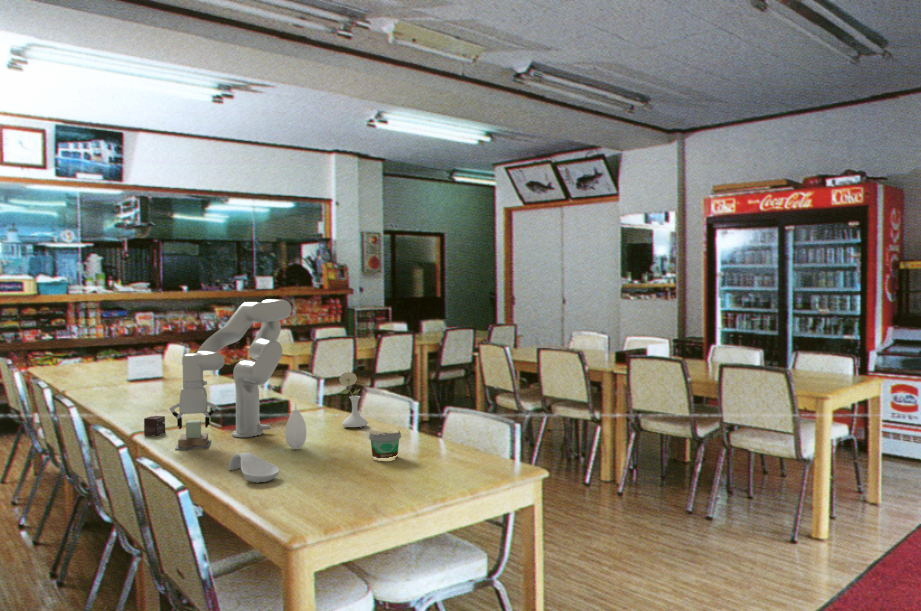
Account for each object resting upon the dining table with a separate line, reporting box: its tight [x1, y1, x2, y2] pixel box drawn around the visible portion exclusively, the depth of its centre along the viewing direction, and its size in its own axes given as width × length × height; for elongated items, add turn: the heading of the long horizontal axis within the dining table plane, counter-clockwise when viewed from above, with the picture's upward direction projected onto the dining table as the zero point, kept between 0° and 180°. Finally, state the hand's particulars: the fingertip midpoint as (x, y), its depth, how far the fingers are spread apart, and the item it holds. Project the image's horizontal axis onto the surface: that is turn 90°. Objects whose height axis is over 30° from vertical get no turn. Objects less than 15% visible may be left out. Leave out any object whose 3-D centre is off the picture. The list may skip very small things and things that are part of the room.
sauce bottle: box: [284, 403, 307, 450], centre depth 254 cm, size 8×8×18 cm
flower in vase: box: [338, 371, 368, 428], centre depth 293 cm, size 13×11×25 cm
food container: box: [368, 430, 402, 458], centre depth 240 cm, size 12×6×10 cm, turn 118°
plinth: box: [174, 432, 212, 451], centre depth 259 cm, size 12×12×4 cm
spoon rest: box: [227, 452, 280, 484], centre depth 219 cm, size 24×12×7 cm, turn 48°
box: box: [143, 415, 166, 437], centre depth 277 cm, size 6×6×7 cm
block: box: [185, 419, 202, 438], centre depth 259 cm, size 5×5×6 cm
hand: (193, 427), depth 259 cm, fingers open, 9 cm apart
